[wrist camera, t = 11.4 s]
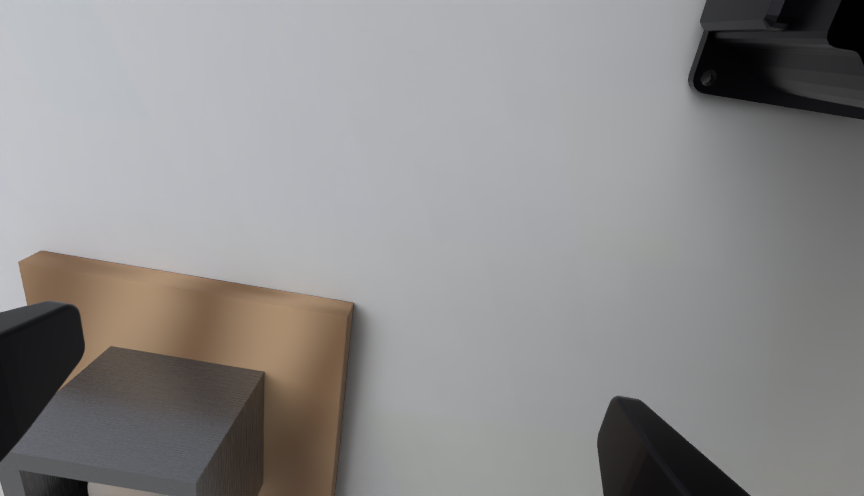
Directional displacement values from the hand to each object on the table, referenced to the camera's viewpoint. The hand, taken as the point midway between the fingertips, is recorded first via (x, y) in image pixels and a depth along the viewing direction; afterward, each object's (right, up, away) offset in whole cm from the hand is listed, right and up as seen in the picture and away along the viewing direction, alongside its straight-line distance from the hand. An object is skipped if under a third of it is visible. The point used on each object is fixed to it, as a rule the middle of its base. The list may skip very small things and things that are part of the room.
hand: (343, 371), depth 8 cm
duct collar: (-10, -6, +15) cm, 19 cm away
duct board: (-10, -5, +16) cm, 20 cm away
